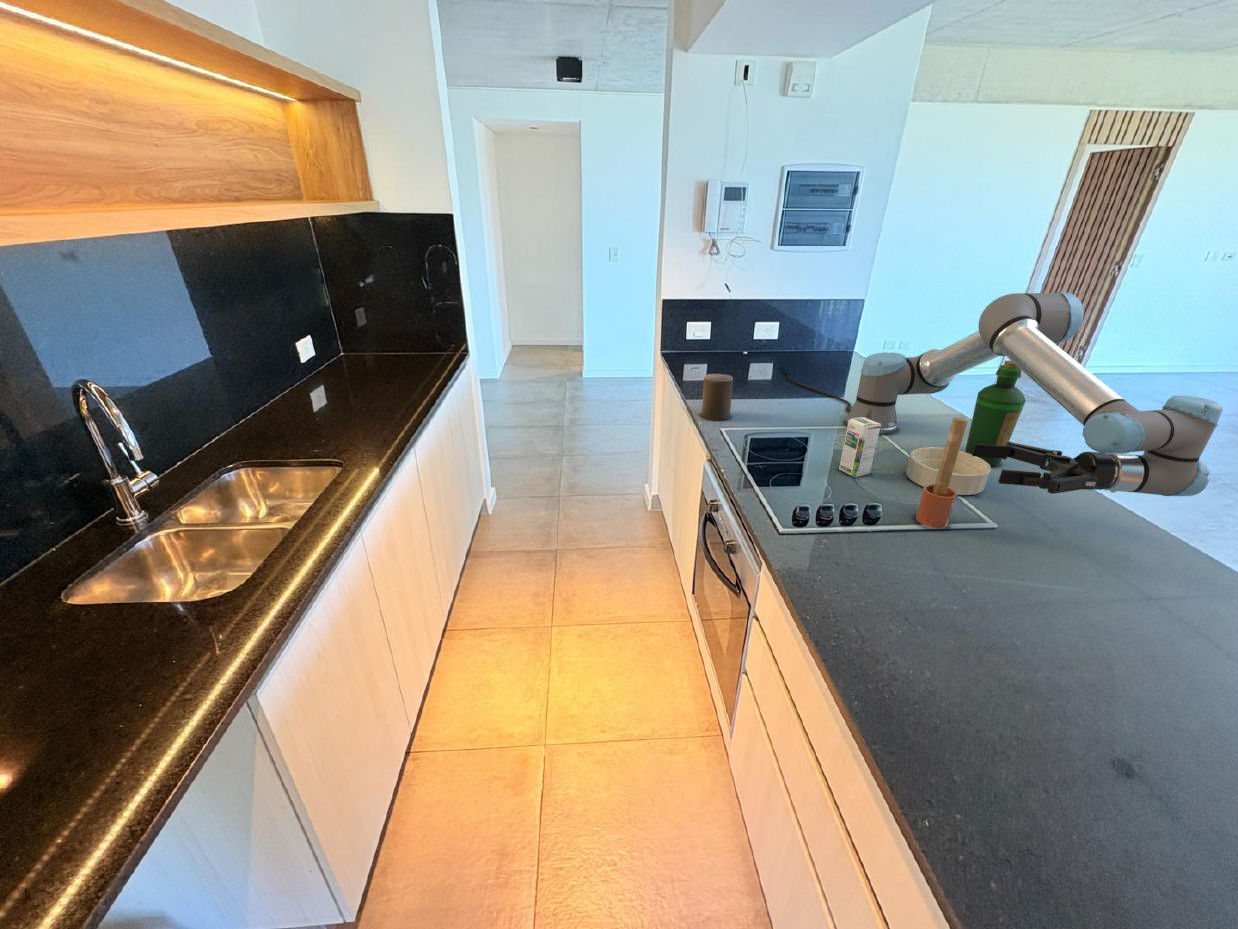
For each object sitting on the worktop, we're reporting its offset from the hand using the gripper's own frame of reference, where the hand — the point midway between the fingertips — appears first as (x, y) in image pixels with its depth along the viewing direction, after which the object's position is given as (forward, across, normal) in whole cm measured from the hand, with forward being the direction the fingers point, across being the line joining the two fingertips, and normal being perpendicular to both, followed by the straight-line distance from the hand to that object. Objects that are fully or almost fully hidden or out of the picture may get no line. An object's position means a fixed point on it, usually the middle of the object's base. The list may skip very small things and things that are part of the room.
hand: (986, 462), depth 110 cm
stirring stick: (+7, 0, -15) cm, 17 cm away
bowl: (-2, +23, -15) cm, 28 cm away
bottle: (-17, +39, -16) cm, 46 cm away
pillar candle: (+57, +62, -16) cm, 86 cm away
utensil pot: (+7, 0, -16) cm, 17 cm away
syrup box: (+19, +24, -16) cm, 35 cm away
